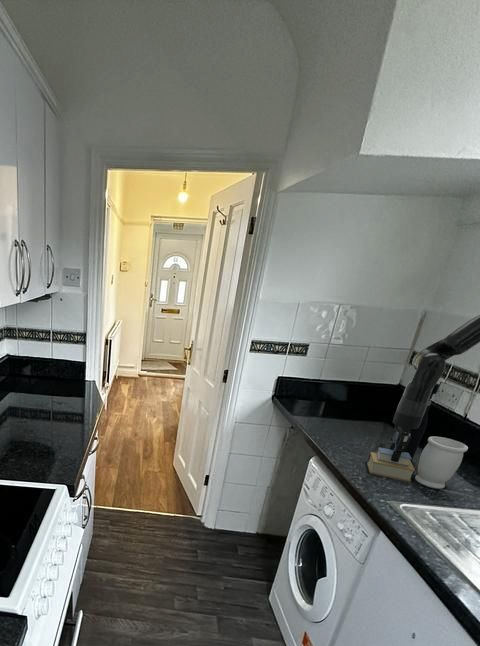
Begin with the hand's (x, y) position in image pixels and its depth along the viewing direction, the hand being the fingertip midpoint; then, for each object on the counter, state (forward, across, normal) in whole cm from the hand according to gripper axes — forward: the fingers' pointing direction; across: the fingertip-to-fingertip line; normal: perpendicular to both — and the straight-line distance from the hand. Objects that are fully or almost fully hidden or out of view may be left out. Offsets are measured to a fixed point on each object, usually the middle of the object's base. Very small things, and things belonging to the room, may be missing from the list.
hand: (392, 457), depth 144 cm
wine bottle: (+6, +15, -6) cm, 17 cm away
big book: (+6, 0, 0) cm, 6 cm away
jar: (+6, -2, -12) cm, 13 cm away
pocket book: (+1, 0, 0) cm, 1 cm away
